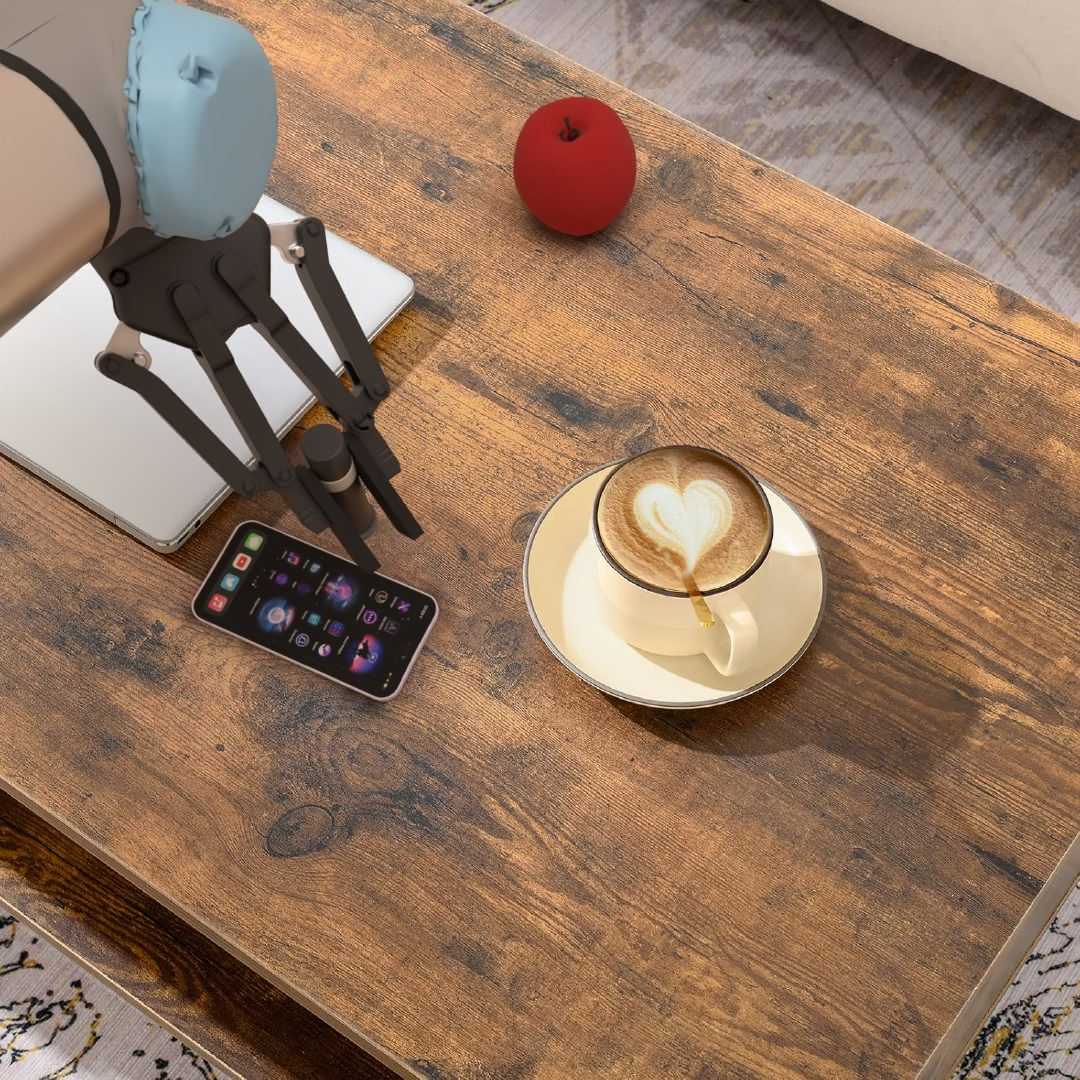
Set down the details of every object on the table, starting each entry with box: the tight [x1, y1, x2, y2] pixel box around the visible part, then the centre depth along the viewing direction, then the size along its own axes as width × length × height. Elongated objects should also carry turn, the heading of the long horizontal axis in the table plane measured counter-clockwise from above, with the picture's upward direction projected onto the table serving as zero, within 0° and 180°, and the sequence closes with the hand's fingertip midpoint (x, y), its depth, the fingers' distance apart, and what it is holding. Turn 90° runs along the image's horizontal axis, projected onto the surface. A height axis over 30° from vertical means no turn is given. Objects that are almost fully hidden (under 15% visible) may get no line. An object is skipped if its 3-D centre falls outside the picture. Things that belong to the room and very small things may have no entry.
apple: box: [512, 96, 637, 237], centre depth 83 cm, size 9×9×10 cm
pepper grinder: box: [300, 423, 379, 542], centre depth 63 cm, size 3×3×10 cm
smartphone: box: [191, 519, 440, 703], centre depth 75 cm, size 8×1×15 cm
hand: (389, 547), depth 64 cm, fingers closed on pepper grinder, 2 cm apart
